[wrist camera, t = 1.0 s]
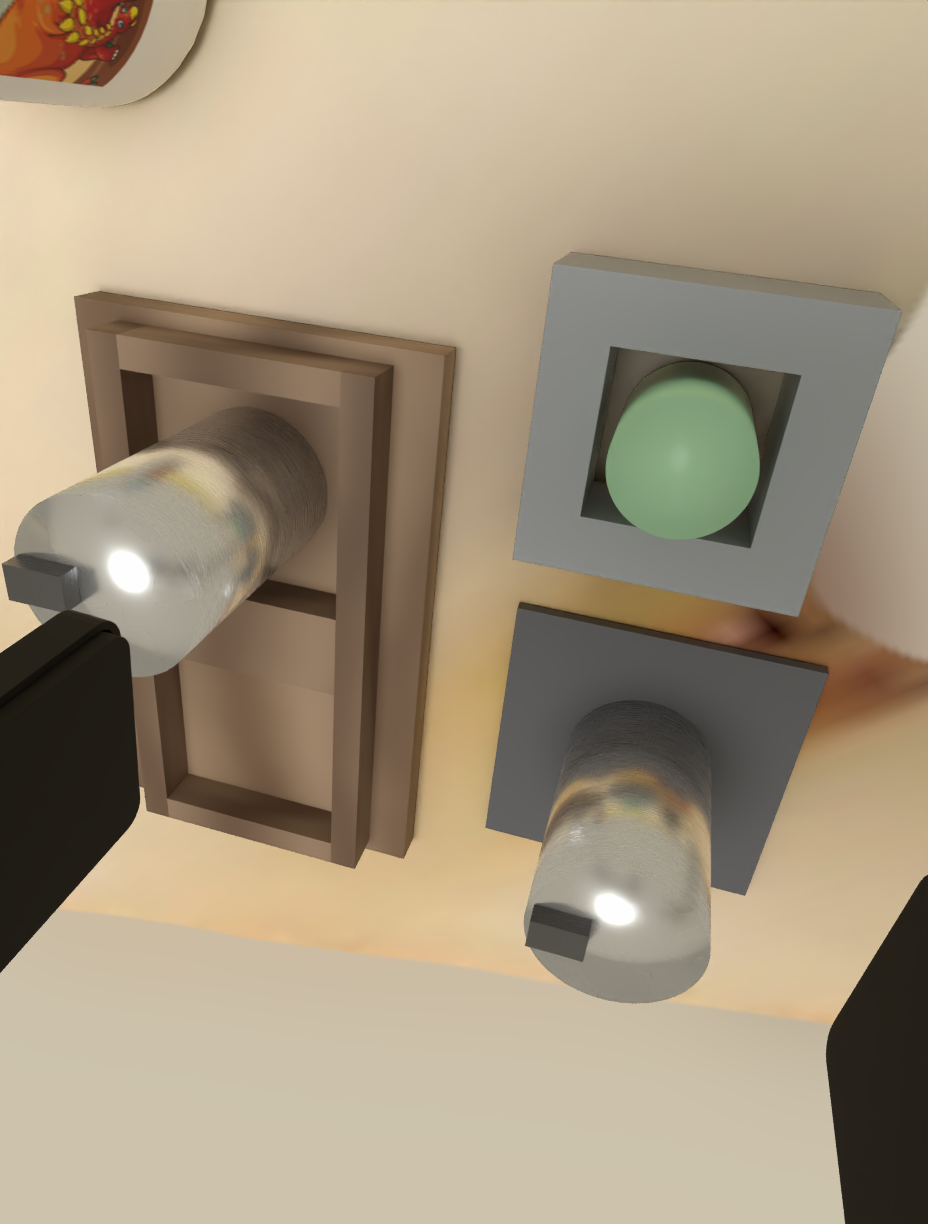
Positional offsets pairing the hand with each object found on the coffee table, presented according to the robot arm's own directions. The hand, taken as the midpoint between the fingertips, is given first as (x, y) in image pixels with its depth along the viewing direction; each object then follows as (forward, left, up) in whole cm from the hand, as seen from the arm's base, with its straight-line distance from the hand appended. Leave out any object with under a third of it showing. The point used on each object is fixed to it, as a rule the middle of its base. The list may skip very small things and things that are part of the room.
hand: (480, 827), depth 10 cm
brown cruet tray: (+11, +9, -17) cm, 22 cm away
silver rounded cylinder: (-3, +12, -17) cm, 21 cm away
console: (-2, 0, -17) cm, 17 cm away
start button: (-2, 0, -17) cm, 17 cm away
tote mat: (-3, +12, -17) cm, 21 cm away
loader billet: (+11, +4, -16) cm, 20 cm away
